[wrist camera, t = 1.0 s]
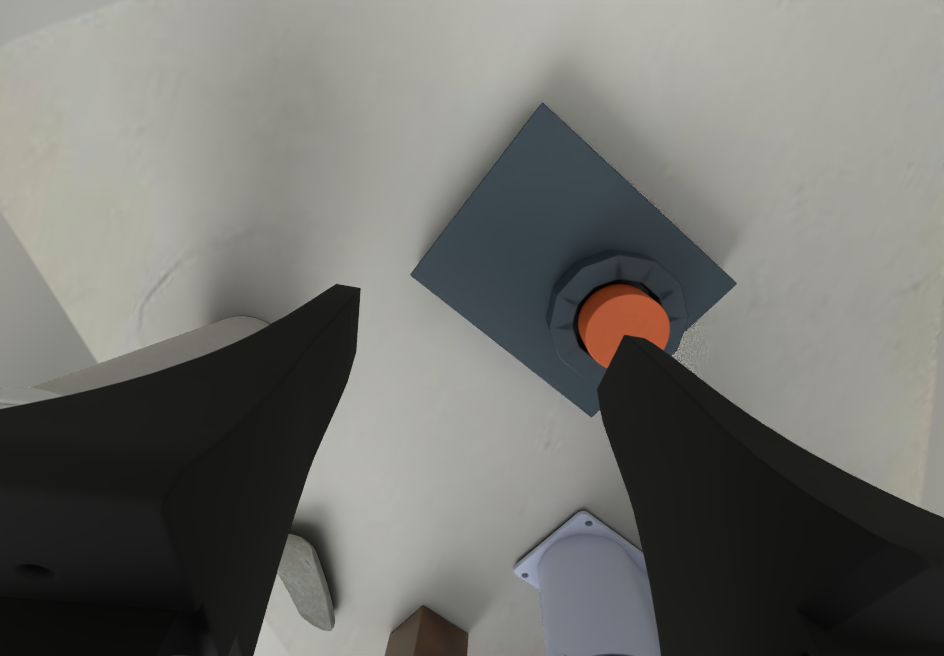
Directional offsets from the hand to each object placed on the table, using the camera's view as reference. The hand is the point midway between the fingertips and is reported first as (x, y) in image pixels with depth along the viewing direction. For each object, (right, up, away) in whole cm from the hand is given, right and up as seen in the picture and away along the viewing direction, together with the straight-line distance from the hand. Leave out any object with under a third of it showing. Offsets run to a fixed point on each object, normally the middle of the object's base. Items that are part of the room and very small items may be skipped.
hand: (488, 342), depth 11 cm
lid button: (+7, +1, +11) cm, 13 cm away
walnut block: (-4, -26, +25) cm, 37 cm away
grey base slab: (+5, +4, +14) cm, 15 cm away
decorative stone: (-16, -20, +23) cm, 35 cm away
